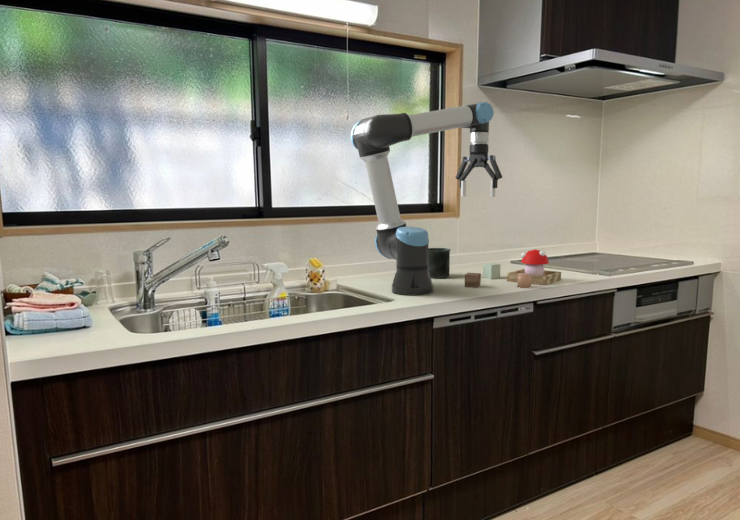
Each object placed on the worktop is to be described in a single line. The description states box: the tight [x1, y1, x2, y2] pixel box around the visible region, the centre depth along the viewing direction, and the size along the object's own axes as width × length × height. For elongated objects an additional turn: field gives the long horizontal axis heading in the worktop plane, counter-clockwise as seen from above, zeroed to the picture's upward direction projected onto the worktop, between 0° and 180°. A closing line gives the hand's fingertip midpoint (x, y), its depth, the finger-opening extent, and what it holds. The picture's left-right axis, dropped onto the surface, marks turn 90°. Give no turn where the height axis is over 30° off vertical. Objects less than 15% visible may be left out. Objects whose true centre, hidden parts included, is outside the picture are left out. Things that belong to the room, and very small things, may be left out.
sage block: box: [482, 262, 501, 280], centre depth 229 cm, size 5×5×6 cm
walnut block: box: [464, 272, 482, 289], centre depth 209 cm, size 5×5×5 cm
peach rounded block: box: [516, 273, 532, 289], centre depth 207 cm, size 5×5×5 cm
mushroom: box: [520, 249, 550, 276], centre depth 220 cm, size 11×11×12 cm
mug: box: [428, 247, 451, 279], centre depth 233 cm, size 11×15×12 cm
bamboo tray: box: [506, 268, 562, 286], centre depth 221 cm, size 16×16×3 cm
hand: (477, 196), depth 223 cm, fingers open, 13 cm apart
